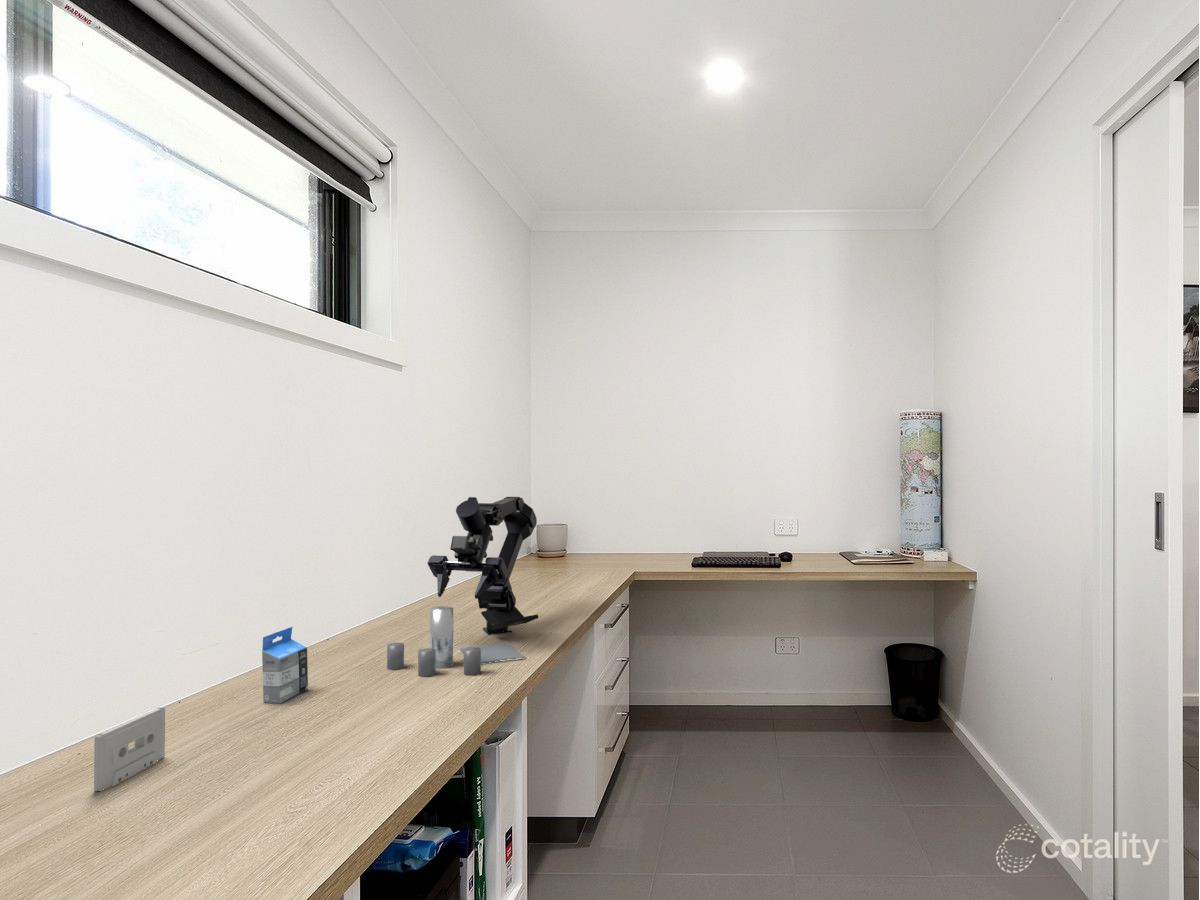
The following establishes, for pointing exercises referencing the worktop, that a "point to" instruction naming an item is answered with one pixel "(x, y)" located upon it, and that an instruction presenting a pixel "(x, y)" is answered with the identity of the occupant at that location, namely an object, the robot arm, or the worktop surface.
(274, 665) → the label tape box
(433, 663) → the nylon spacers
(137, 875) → the worktop surface
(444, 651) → the ball
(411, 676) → the worktop surface
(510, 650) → the rubber mat
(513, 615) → the handheld gaming console
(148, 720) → the cassette
